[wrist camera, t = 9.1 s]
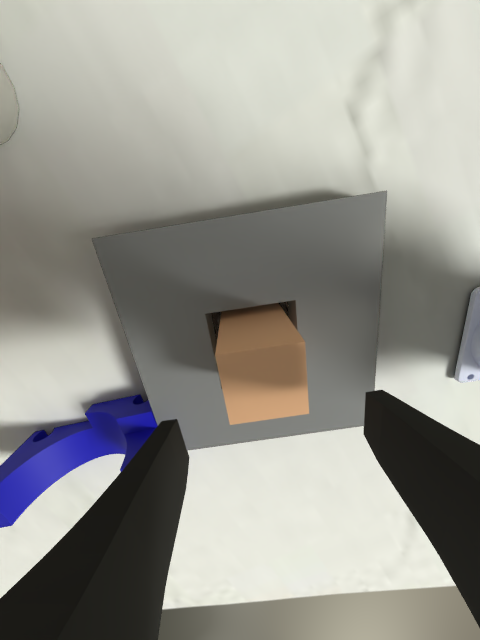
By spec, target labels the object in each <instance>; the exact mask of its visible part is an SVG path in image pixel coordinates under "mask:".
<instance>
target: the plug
mask: <svg viewBox="0 0 480 640" xmlns="http://www.w3.org/2000/svg"><path fill="white" fill-rule="evenodd" d="M215 357H216V362H217V366H218V371H219V376H220V381H221V385H222V390H223V395H224V400H225V404H226V409H227V414H228V418H229V423H230V425H234V424H241V423H248V422H255V421H262V420H269V419H276V418H283V417H290V416H297V415H304V414H309V401H308V383H307V366H306V348H305V341H304V339H303V338H302V337H301V335H300V334H299V332H298V331H297V329H296V328H295V326H294V325H293V324H292V322H291V321H290V319H289V318H288V316H287V315H286V313H285V312H284V310H283V309H282V308H281V306H280V305H279V303H273V304H266V305H260V306H253V307H247V308H240V309H234V310H227V311H221V318H220V325H219V332H218V339H217V346H216V353H215Z"/></svg>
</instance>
